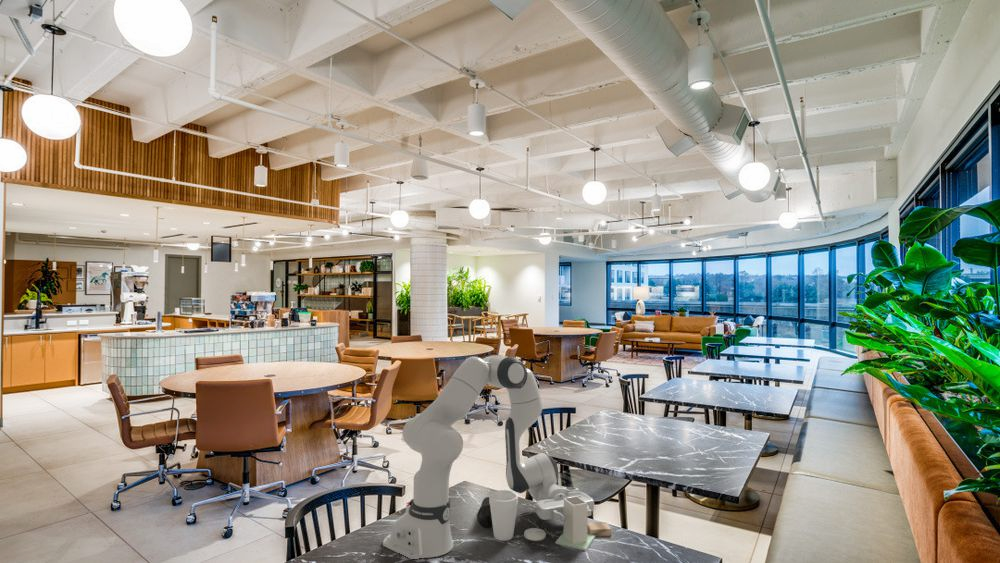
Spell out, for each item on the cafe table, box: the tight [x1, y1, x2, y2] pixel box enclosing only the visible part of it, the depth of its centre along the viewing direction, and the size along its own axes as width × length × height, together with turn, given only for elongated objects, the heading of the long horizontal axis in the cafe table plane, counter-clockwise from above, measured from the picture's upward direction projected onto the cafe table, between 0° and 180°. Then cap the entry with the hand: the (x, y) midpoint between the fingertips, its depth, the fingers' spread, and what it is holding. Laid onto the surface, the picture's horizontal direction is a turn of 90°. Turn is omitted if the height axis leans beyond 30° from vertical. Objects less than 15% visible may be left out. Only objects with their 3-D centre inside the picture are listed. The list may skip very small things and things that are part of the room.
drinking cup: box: [476, 496, 493, 529], centre depth 173 cm, size 8×8×20 cm
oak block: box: [587, 521, 612, 537], centre depth 166 cm, size 7×5×2 cm
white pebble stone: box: [523, 527, 546, 542], centre depth 164 cm, size 7×7×1 cm
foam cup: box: [488, 489, 519, 541], centre depth 164 cm, size 10×9×13 cm
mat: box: [555, 531, 596, 552], centre depth 161 cm, size 10×10×1 cm
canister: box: [563, 496, 588, 544], centre depth 161 cm, size 6×5×12 cm
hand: (577, 516), depth 160 cm, fingers open, 8 cm apart
